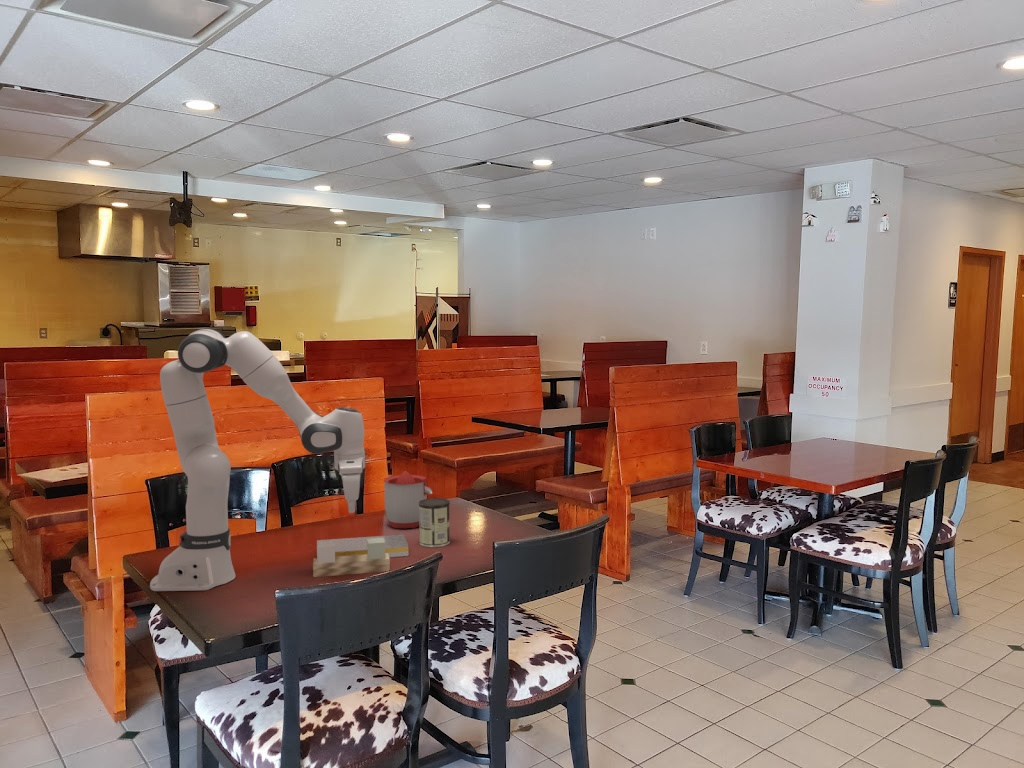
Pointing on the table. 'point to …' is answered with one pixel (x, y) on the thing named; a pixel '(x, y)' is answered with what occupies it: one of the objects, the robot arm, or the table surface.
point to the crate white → (326, 552)
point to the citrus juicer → (404, 499)
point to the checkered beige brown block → (351, 566)
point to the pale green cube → (376, 548)
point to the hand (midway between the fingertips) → (351, 508)
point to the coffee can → (434, 522)
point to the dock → (358, 546)
